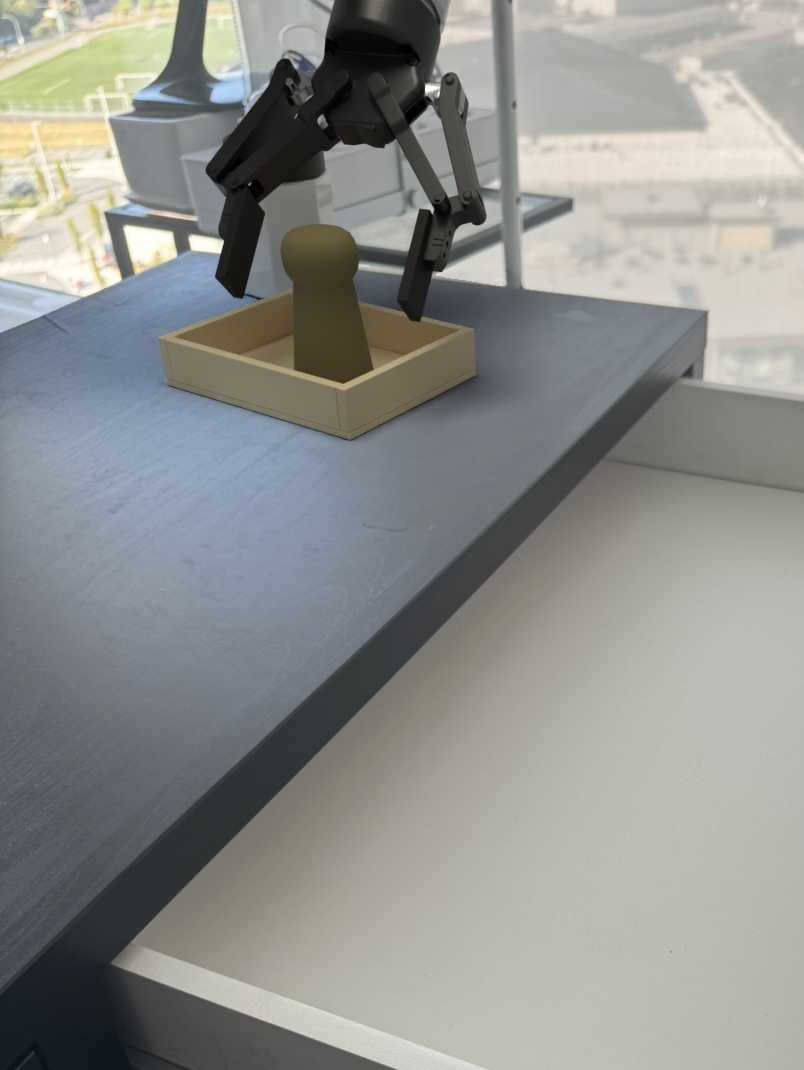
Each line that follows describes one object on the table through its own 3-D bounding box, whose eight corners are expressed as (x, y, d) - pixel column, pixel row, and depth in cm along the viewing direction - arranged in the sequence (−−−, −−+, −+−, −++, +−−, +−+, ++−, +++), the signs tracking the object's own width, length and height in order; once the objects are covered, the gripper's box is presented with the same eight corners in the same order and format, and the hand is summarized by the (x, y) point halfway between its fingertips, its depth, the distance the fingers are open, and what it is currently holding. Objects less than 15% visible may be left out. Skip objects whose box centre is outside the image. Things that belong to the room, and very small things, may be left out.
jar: (262, 271, 108) (240, 124, 100) (349, 275, 107) (334, 128, 100) (231, 301, 101) (205, 147, 93) (324, 306, 100) (305, 151, 93)
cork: (278, 387, 85) (253, 225, 78) (349, 368, 88) (331, 211, 81) (322, 413, 81) (300, 245, 74) (394, 392, 85) (380, 229, 78)
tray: (167, 385, 86) (157, 337, 84) (302, 330, 96) (296, 285, 94) (350, 440, 79) (344, 389, 77) (476, 375, 89) (474, 328, 87)
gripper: (204, -40, 80) (127, 249, 79) (547, -19, 75) (471, 291, 74) (255, 40, 88) (185, 306, 86) (571, 65, 82) (502, 348, 81)
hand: (317, 300), depth 80 cm, fingers open, 13 cm apart
